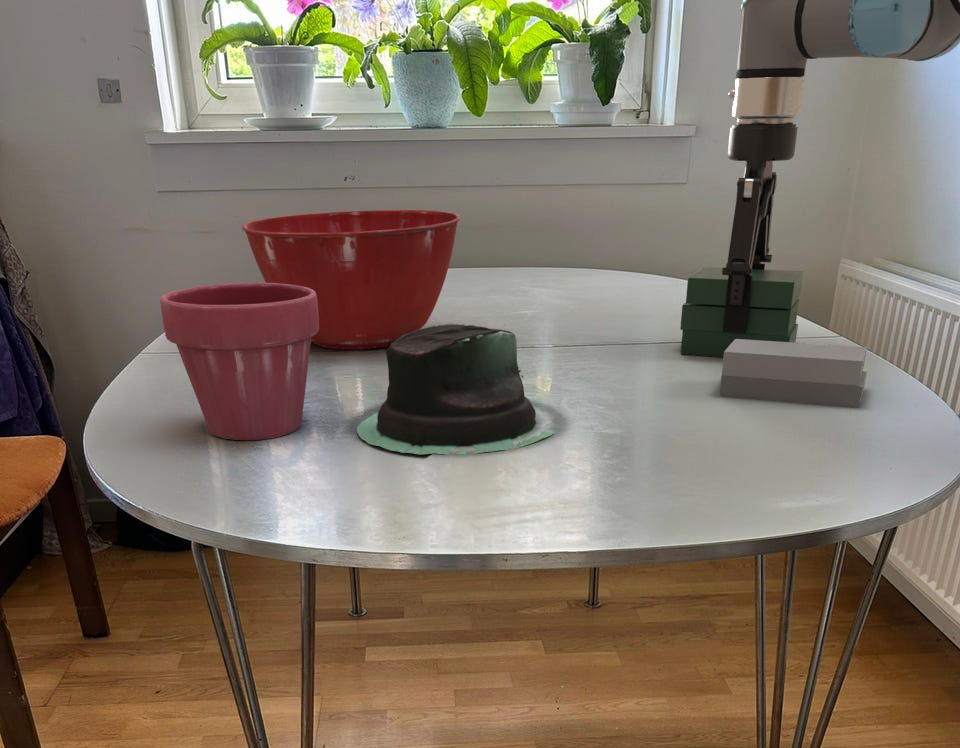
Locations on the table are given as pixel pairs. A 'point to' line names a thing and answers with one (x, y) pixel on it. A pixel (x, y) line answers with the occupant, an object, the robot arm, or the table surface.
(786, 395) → the grey pile
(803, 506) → the table surface
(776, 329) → the green pile
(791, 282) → the green book
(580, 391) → the table surface
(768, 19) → the robot arm
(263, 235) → the mixing bowl
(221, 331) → the flower pot
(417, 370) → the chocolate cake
